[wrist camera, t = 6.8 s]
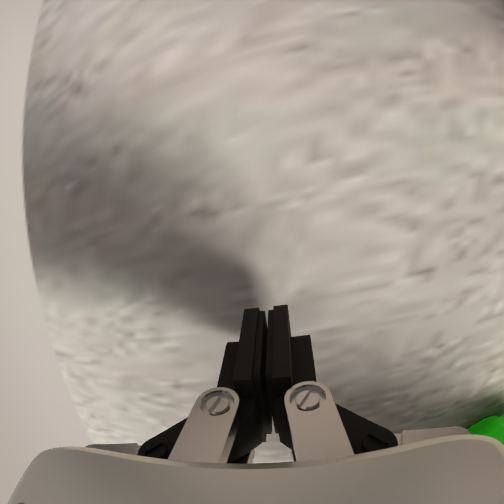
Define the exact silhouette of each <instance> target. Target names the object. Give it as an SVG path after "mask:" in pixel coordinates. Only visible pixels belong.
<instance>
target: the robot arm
mask: <svg viewBox="0 0 504 504" xmlns="http://www.w3.org/2000/svg"><path fill="white" fill-rule="evenodd" d="M272 417H273V422H274V427H275V432H276V433H279V437H280V442H282V443H283V444H284V445H286V446H287V447H289V448H290V449H291V452H292V457H293V462H282V463H257V464H252V462H253V458H254V453H255V450H254V448H256V447H257V446H258V445H259V444H261V443H262V442H266V434H271V433H272ZM8 504H504V445H503V444H502V443H501V442H499V441H498V440H496V439H495V438H492V437H489V436H484V435H471V433H470V432H469V431H468V430H467V429H465V428H463V427H460V426H451V427H442V428H432V429H420V430H403V431H402V433H399V434H393V433H392V432H391V431H389V430H388V429H386V428H384V427H382V426H379V425H377V424H375V423H373V422H371V421H369V420H367V419H365V418H363V417H361V416H359V415H357V414H355V413H353V412H351V411H349V410H347V409H345V408H343V407H341V406H339V405H337V404H335V402H334V400H333V397H332V395H331V392H330V390H329V389H328V387H326V386H325V385H324V384H322V383H319V382H316V375H315V367H314V360H313V352H312V345H311V338H310V335H304V336H296V337H291V331H290V322H289V313H288V305H280V306H274V307H273V310H269V311H268V328H267V322H266V316H265V311H260V310H259V308H250V309H245V310H244V316H243V321H242V327H241V333H240V339H239V342H228V343H227V345H226V349H225V353H224V358H223V362H222V367H221V372H220V376H219V381H218V385H217V387H216V388H212V389H209V390H207V391H205V392H203V393H202V394H201V395H200V396H199V397H198V398H197V400H196V402H195V404H194V406H193V408H192V410H191V412H190V414H189V416H188V418H186V419H184V420H183V421H181V422H179V423H177V424H176V425H174V426H172V427H171V428H169V429H167V430H165V431H164V432H162V433H160V434H158V435H157V436H155V437H153V438H151V439H150V440H148V441H146V442H145V443H144V444H143V445H142V446H139V445H138V444H137V443H130V444H93V445H88V446H86V447H60V448H53V449H49V450H46V451H44V452H42V453H40V454H39V455H38V456H37V457H36V458H35V459H34V460H33V461H32V462H31V464H30V465H29V467H28V468H27V470H26V471H25V473H24V474H23V476H22V478H21V479H20V481H19V483H18V485H17V486H16V488H15V490H14V492H13V494H12V496H11V498H10V500H9V502H8Z"/></svg>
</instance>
